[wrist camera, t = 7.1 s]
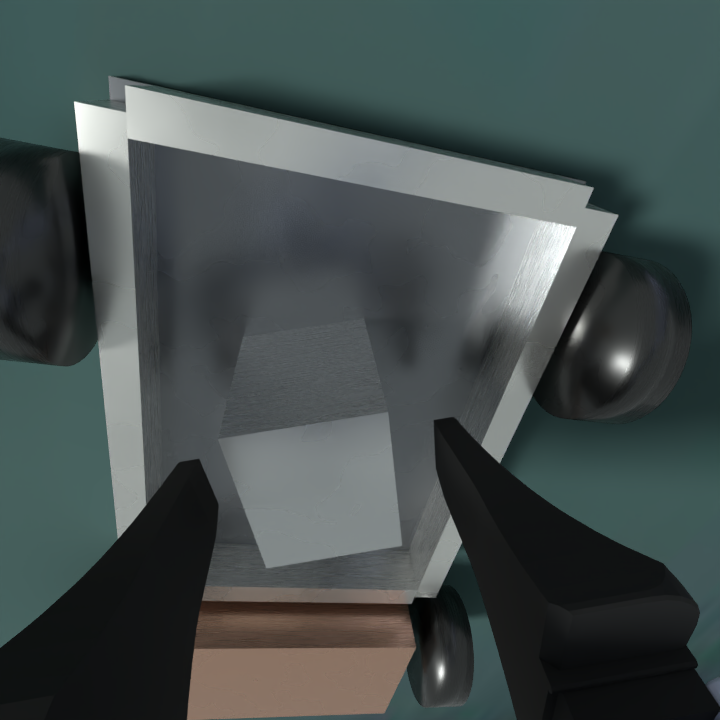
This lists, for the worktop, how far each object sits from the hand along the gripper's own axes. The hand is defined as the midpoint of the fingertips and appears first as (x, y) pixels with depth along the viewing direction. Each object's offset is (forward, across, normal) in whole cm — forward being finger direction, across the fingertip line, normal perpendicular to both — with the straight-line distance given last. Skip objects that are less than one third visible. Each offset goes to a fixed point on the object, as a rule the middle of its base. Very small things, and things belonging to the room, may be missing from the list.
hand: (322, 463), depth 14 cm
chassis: (+3, +1, +3) cm, 5 cm away
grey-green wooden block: (+3, 0, -1) cm, 3 cm away
